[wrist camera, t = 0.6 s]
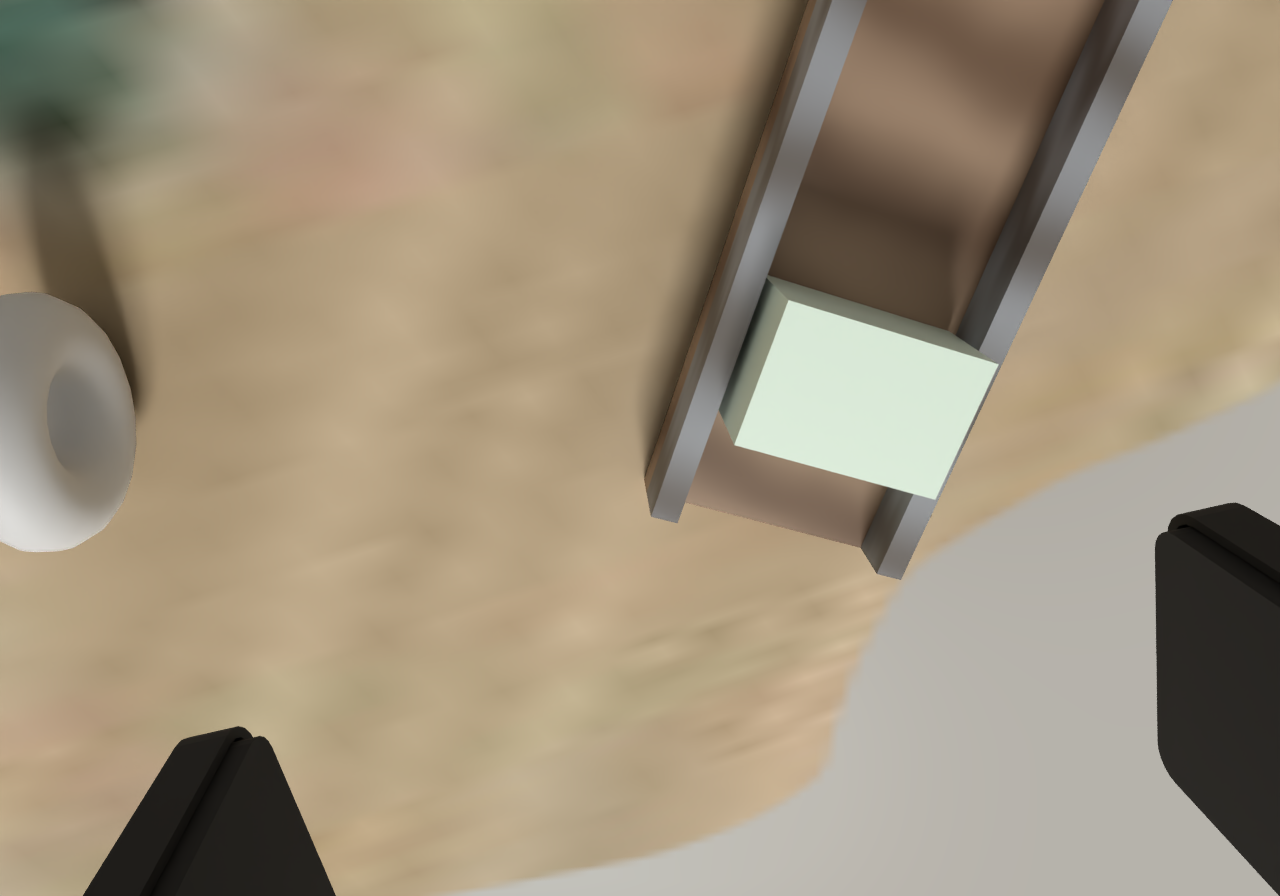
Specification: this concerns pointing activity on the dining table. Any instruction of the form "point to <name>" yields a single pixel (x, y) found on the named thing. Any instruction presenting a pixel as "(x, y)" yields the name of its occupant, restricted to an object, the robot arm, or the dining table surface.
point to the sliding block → (853, 389)
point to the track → (900, 217)
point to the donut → (60, 425)
